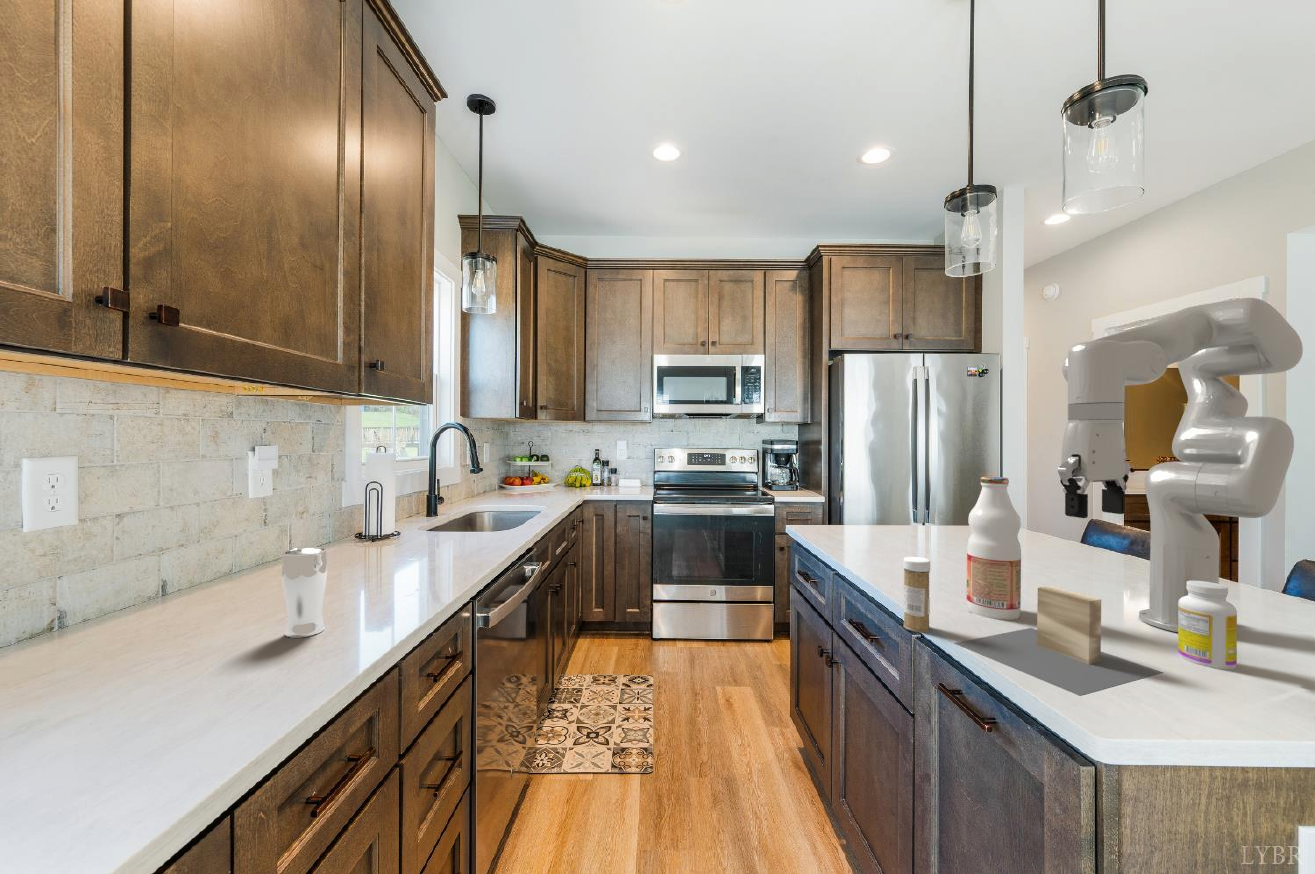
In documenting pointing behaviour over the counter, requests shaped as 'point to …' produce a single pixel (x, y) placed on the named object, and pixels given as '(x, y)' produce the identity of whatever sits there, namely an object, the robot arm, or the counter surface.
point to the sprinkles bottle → (916, 594)
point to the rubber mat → (1056, 663)
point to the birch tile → (1069, 624)
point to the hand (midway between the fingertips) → (1095, 514)
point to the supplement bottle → (1207, 626)
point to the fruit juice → (994, 554)
